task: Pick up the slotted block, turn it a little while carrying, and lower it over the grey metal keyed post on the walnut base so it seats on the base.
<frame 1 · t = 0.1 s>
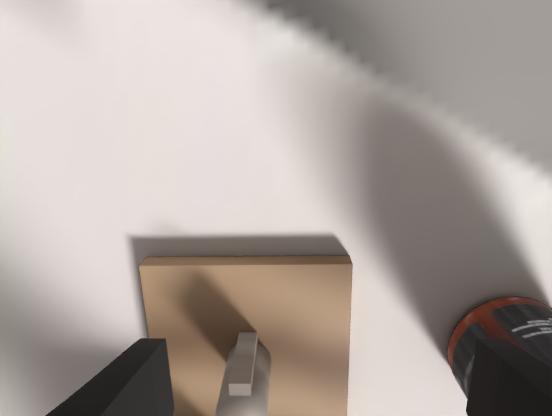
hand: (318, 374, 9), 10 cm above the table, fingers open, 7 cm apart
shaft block: (251, 343, 21), on the table
supplement bottle: (500, 340, 21), on the table
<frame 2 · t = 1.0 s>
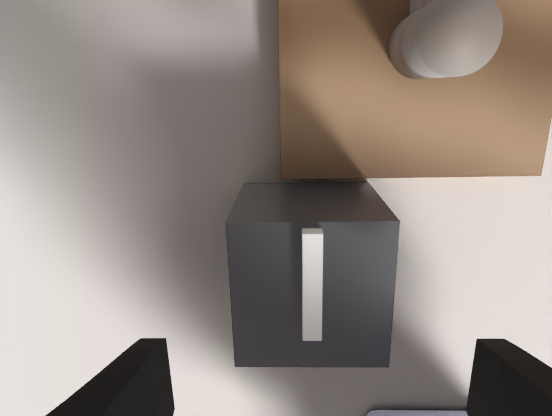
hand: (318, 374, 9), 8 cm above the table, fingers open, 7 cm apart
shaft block: (412, 41, 15), on the table
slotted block: (305, 240, 17), on the table
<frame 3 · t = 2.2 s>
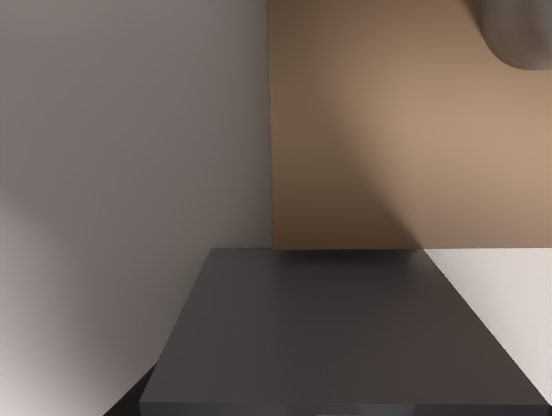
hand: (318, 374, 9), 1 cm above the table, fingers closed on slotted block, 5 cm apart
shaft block: (514, 2, 8), on the table
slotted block: (314, 337, 11), on the table, touching gripper
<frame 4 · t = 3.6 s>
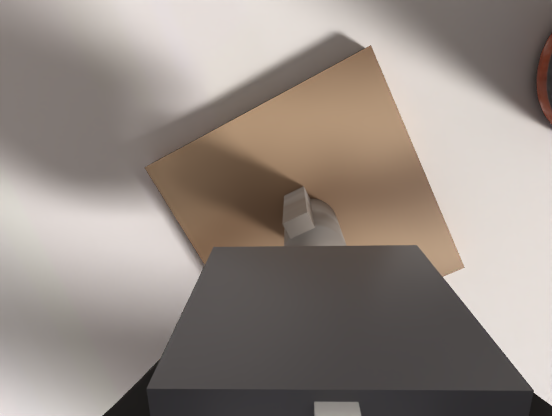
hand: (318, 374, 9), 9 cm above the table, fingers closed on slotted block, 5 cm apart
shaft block: (307, 211, 17), on the table
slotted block: (313, 333, 11), point 7 cm above the table, touching gripper
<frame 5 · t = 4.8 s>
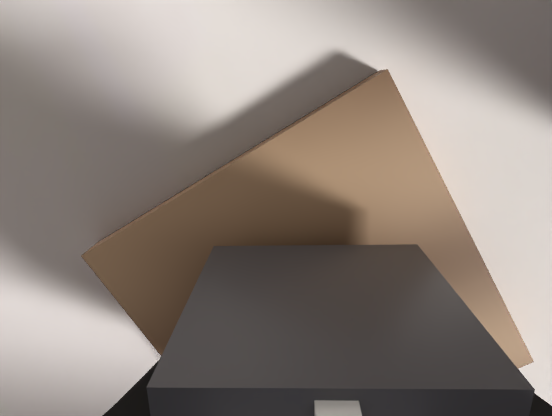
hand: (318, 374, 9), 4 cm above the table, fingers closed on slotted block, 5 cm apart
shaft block: (310, 293, 13), on the table
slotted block: (313, 332, 11), point 2 cm above the table, touching gripper
when the fingers open (3 cm above the table, at t = 5.4 s): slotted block stays where it is, resting on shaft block.
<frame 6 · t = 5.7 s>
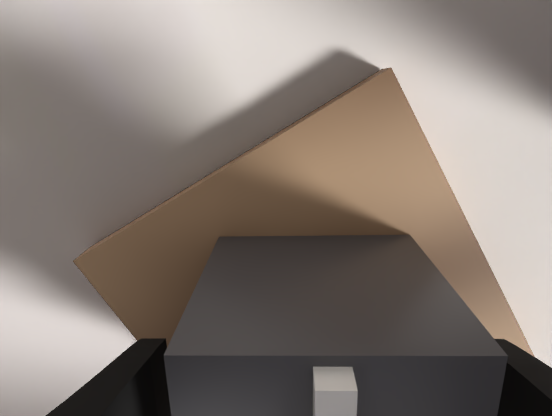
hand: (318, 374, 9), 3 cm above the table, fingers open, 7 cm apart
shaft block: (311, 299, 12), on the table
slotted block: (313, 318, 12), point 1 cm above the table, touching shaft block
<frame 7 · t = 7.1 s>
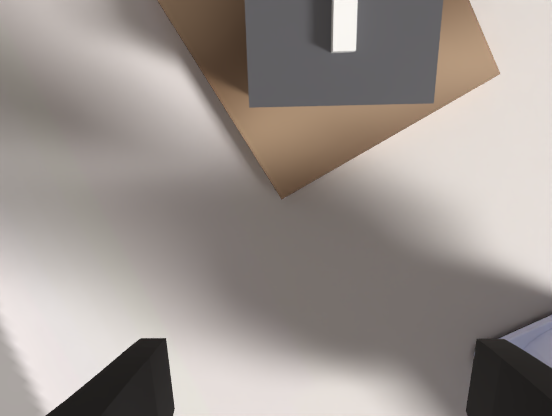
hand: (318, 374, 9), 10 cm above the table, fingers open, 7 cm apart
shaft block: (323, 31, 16), on the table
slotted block: (326, 29, 15), point 1 cm above the table, touching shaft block
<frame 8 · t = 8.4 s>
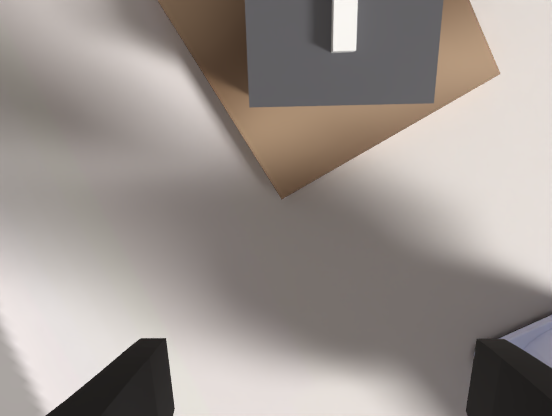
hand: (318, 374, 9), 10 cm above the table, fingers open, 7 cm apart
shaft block: (323, 31, 16), on the table
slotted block: (326, 29, 15), point 1 cm above the table, touching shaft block
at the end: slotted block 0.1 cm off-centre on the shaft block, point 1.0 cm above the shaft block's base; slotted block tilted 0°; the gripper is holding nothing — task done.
